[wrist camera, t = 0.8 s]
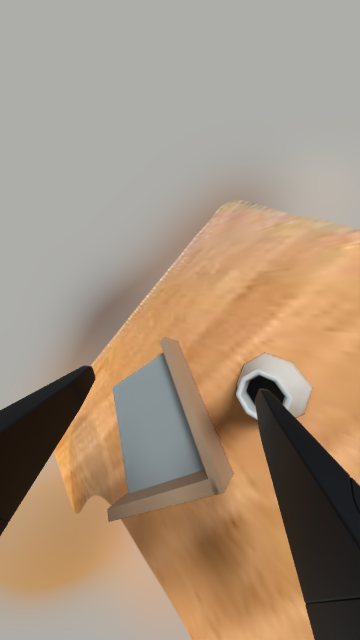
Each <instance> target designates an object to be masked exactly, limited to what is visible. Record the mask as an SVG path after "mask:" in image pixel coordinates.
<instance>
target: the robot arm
mask: <svg viewBox="0 0 360 640" xmlns="http://www.w3.org/2000/svg"><path fill="white" fill-rule="evenodd" d="M94 381H95V374H94V371H93V368H92V367H91V366H82V367H80V368H79V369H76V370H75V371H73V372H71V373H69V374H67V375H66V376H63V377H62V378H60V379H58V380H56V381H54V382H52V383H50V384H49V385H47V386H45V387H43V388H41V389H39V390H37V391H36V392H34V393H32V394H30V395H28V396H26V397H25V398H22V399H21V400H19V401H17V402H15V403H13V404H11V405H10V406H8V407H6V408H4V409H2V410H0V536H1V534H2V532H3V531H4V529H5V528H6V526H7V524H8V522H9V521H10V519H11V518H12V516H13V515H14V513H15V511H16V510H17V508H18V506H19V505H20V504H21V502H22V500H23V499H24V497H25V496H26V494H27V492H28V490H29V489H30V488H31V486H32V484H33V483H34V481H35V480H36V478H37V476H38V475H39V473H40V471H41V470H42V469H43V467H44V465H45V464H46V462H47V461H48V459H49V457H50V456H51V454H52V453H53V451H54V449H55V448H56V446H57V445H58V443H59V442H60V440H61V438H62V437H63V435H64V434H65V432H66V430H67V429H68V427H69V426H70V424H71V422H72V421H73V419H74V418H75V416H76V414H77V413H78V411H79V410H80V408H81V406H82V404H83V402H84V400H85V399H86V397H87V395H88V393H89V391H90V389H91V387H92V385H93V383H94ZM255 406H256V412H257V419H258V425H259V431H260V436H261V441H262V445H263V448H264V452H265V456H266V459H267V463H268V467H269V471H270V474H271V478H272V482H273V486H274V489H275V493H276V497H277V500H278V504H279V508H280V512H281V515H282V519H283V523H284V526H285V530H286V534H287V538H288V541H289V545H290V549H291V553H292V556H293V560H294V564H295V567H296V571H297V575H298V579H299V582H300V586H301V590H302V593H303V597H304V601H305V603H306V609H307V613H308V616H309V620H310V624H311V628H312V631H313V635H314V639H315V640H360V486H359V485H358V483H357V482H356V481H355V480H354V479H353V478H351V477H350V475H349V474H348V473H347V472H346V471H345V470H344V469H343V468H342V467H341V466H340V465H339V464H338V462H337V461H336V460H335V459H334V458H333V457H332V456H331V455H330V454H329V453H328V452H327V451H326V450H325V449H324V448H323V447H322V446H321V444H320V443H319V442H318V441H317V440H316V439H315V438H314V437H313V436H312V435H311V434H310V433H309V432H308V431H307V430H306V429H305V428H304V426H303V425H302V424H301V423H300V422H299V421H298V420H297V419H296V418H295V417H294V416H293V415H292V414H291V413H290V412H289V411H288V410H287V409H286V407H285V406H284V405H283V404H282V403H281V402H280V401H279V400H278V399H277V398H276V397H275V396H274V395H273V394H272V393H271V392H270V391H269V390H267V389H259V391H258V393H257V396H256V398H255Z"/></svg>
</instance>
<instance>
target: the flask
mask: <svg viewBox="0 0 360 640" xmlns="http://www.w3.org/2000/svg"><path fill="white" fill-rule="evenodd" d="M237 387H238V389H237V391H236V394H235V395H236V397H237V398H238V400H239V402H240V404H241V406H242V407H243V409H244V411H245V413H246V414H247V415H249V416H251V417H252V418H254V419H256V420H257V421H258V419H257V412H256V406H255V398H256V396H257V393H258V391H259V389H267V390H269V391H270V392H271V393H272V394H273V395H274V396H275V397H276V398H277V399H278V400H279V401H280V402H281V403H282V404H283V405H284V406H285V407H286V409H287V410H288V411H289V412H290V413H291V414H292V415H293V416H294V417H295V418H296V417H299V416H301V415H304V414H305V411H306V408H307V405H308V402H309V399H310V396H311V393H312V389H313V387H312V386H311V384H310V383H309V382H308V381H307V380H306V378H305V377H304V376H303V375H302V374H301V372H300V371H299V370H298V369H297V368H296V366H295V365H294V364H293V363H292V362H290V361H287V360H284V359H281V358H278V357H276V356H273V355H270V354H267V353H263V354H261V355H260V356H258V357H256V358H254V359H252V360H251V361H249V362H247V363H245V364H244V366H243V369H242V372H241V374H240V377H239V380H238V383H237Z"/></svg>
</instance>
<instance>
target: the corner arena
mask: <svg viewBox="0 0 360 640" xmlns="http://www.w3.org/2000/svg"><path fill="white" fill-rule="evenodd" d="M160 344H161V347H162V349H163V352H164V353H163V354H161V355H160V356H158V357H157V358H155V359H154V360H152V361H151V362H149V363H148V364H146V365H145V366H144V367H142V368H141V369H139V370H138V371H136V372H135V373H133V374H132V375H130V376H129V377H127V378H126V379H124V380H123V381H121V382H120V383H118V384H117V385H115V386H114V387H113V394H114V400H115V407H116V414H117V420H118V427H119V434H120V440H121V447H122V454H123V461H124V467H125V474H126V481H127V487H128V494H126V495H125V496H124V497H122V498H121V499H120V500H119V501H117V502H116V503H115V504H113V505H112V506H111V507H110V508H108V520H109V522H110V521H114V520H118V519H122V518H126V517H130V516H134V515H138V514H142V513H146V512H149V511H153V510H157V509H161V508H165V507H169V506H173V505H177V504H181V503H185V502H189V501H193V500H197V499H200V498H204V497H208V496H212V495H216V494H220V493H224V492H225V490H226V488H227V486H228V484H229V482H230V480H231V478H232V476H233V474H234V473H233V471H232V468H231V466H230V464H229V461H228V459H227V457H226V454H225V452H224V450H223V447H222V445H221V442H220V440H219V438H218V435H217V433H216V431H215V428H214V426H213V424H212V421H211V419H210V416H209V414H208V412H207V409H206V407H205V405H204V402H203V400H202V398H201V395H200V393H199V390H198V388H197V386H196V383H195V381H194V379H193V376H192V374H191V372H190V369H189V367H188V364H187V362H186V360H185V357H184V355H183V353H182V350H181V348H180V346H179V343H178V341H176V340H173V339H170V338H166V337H165V338H163V339H162V340H161V341H160Z"/></svg>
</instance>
